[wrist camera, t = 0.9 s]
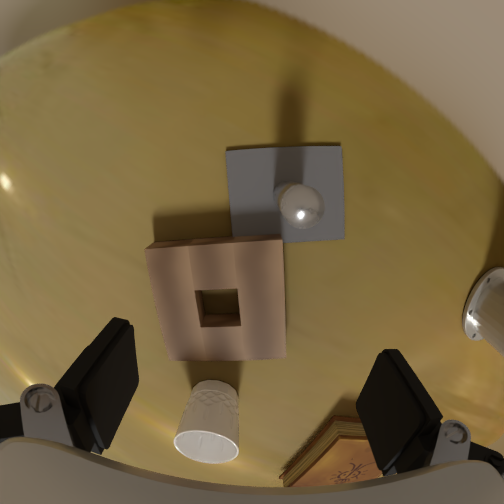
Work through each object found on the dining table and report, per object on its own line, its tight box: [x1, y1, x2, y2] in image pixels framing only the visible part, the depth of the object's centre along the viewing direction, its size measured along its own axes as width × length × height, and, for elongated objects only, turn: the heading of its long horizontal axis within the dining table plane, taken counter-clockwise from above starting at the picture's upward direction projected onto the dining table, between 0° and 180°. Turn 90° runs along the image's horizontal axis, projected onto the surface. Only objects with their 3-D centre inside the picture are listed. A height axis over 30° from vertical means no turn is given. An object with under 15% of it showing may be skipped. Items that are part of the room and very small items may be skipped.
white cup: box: [174, 380, 239, 463], centre depth 32 cm, size 8×8×10 cm
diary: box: [279, 416, 382, 487], centre depth 39 cm, size 23×19×6 cm
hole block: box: [145, 234, 286, 361], centre depth 31 cm, size 14×14×3 cm
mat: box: [226, 146, 344, 243], centre depth 29 cm, size 12×10×1 cm
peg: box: [273, 181, 325, 229], centre depth 24 cm, size 3×3×10 cm
